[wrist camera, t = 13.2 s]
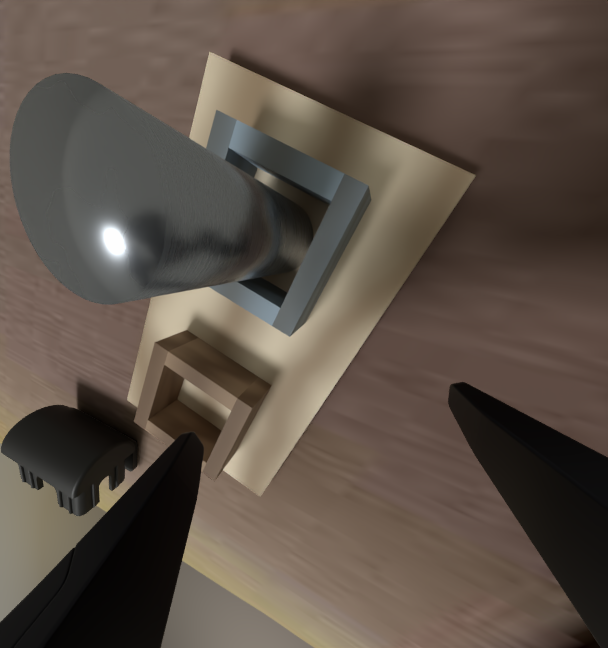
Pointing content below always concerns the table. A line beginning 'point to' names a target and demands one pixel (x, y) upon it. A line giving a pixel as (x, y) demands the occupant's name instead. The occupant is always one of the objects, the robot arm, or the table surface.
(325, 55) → the table surface
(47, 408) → the end cap
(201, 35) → the table surface
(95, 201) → the grey long rounded piece
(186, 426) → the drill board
